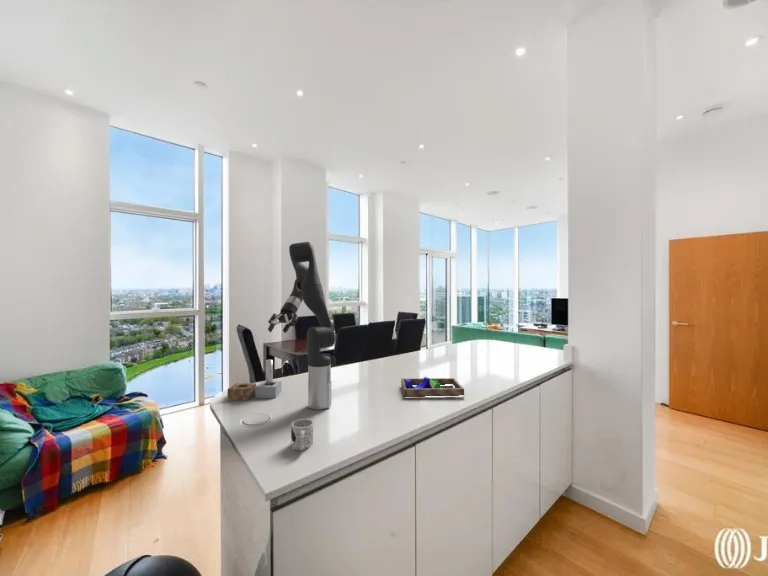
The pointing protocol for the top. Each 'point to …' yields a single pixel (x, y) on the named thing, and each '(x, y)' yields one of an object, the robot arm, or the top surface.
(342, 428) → the top surface
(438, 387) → the pipe clamp
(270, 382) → the steel axle
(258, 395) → the socket block
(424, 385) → the cable clip
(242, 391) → the wooden square frame
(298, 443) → the mug
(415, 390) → the organiser frame
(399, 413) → the top surface
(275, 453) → the top surface
